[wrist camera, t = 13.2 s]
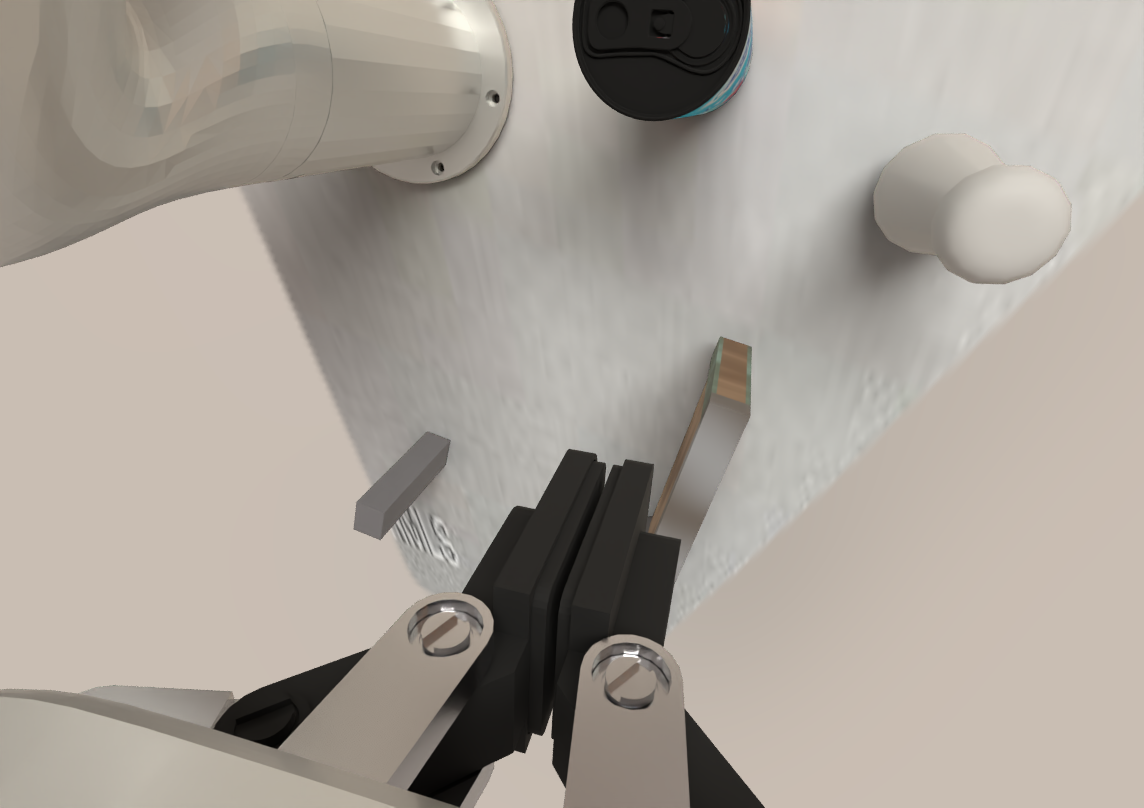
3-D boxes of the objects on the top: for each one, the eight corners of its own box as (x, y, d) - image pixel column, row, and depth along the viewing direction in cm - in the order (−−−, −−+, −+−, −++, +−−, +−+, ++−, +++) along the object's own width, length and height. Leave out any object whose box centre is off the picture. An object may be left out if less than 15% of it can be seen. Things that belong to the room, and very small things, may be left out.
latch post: (423, 455, 50) (353, 529, 42) (427, 431, 49) (356, 501, 40) (445, 464, 50) (380, 540, 41) (450, 440, 49) (384, 513, 40)
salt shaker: (1013, 163, 32) (1154, 195, 21) (936, 261, 35) (1024, 337, 23) (911, 111, 32) (996, 114, 21) (843, 213, 35) (885, 265, 24)
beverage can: (728, 128, 35) (711, 143, 22) (628, 98, 35) (553, 93, 22) (771, 7, 32) (782, -61, 19) (662, -24, 32) (599, -111, 19)
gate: (673, 529, 45) (654, 627, 37) (647, 519, 45) (622, 614, 37) (751, 346, 38) (750, 415, 30) (720, 336, 38) (709, 402, 30)
